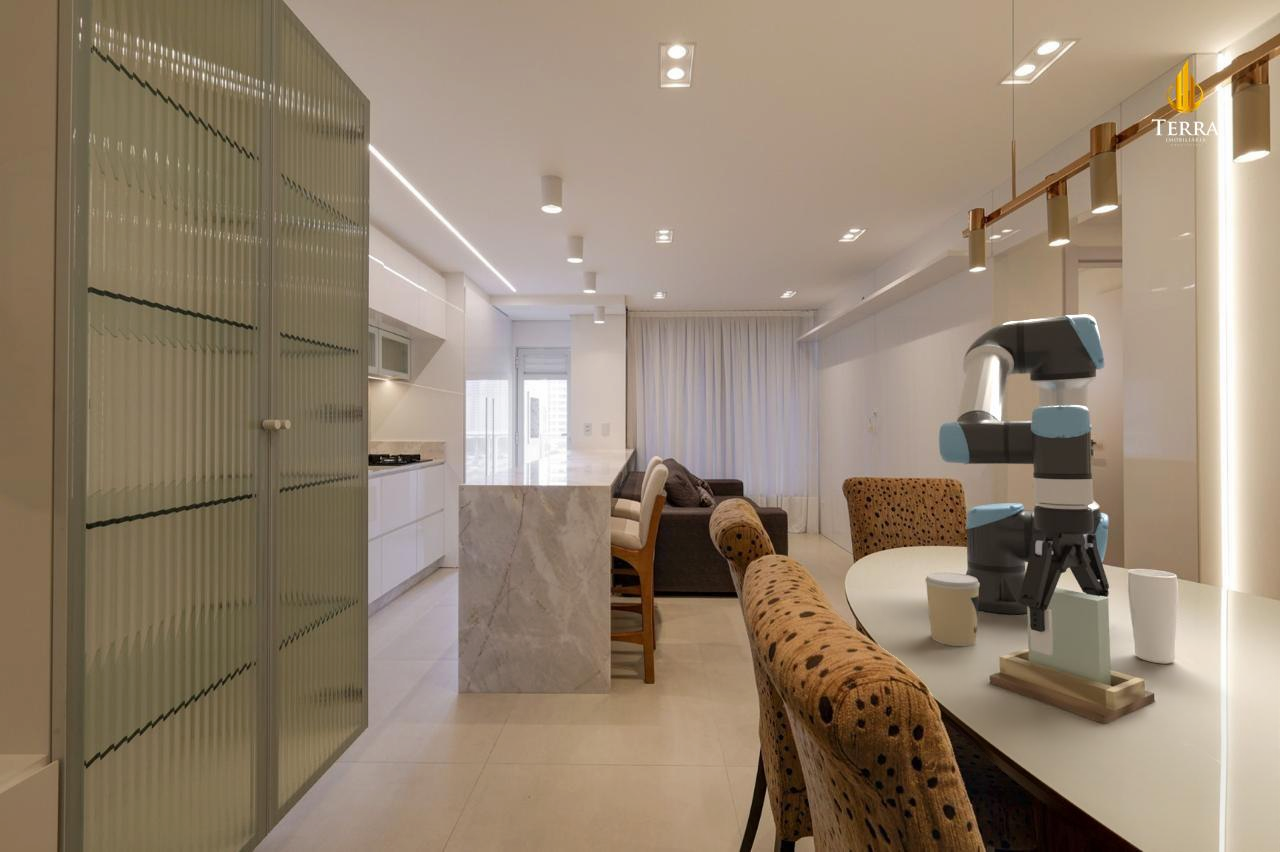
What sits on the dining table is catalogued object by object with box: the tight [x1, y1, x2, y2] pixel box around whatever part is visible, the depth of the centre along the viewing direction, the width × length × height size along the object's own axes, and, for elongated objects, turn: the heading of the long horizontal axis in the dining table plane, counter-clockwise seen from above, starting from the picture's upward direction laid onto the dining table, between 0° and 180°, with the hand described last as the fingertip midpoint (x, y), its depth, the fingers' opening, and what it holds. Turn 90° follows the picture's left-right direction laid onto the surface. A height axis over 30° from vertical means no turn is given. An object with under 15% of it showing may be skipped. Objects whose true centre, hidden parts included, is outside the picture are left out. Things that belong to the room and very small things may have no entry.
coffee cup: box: [925, 572, 980, 647], centre depth 118 cm, size 9×9×12 cm
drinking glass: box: [1126, 568, 1179, 665], centre depth 106 cm, size 7×7×15 cm
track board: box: [989, 647, 1155, 725], centre depth 93 cm, size 14×16×4 cm
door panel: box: [1026, 587, 1112, 686], centre depth 93 cm, size 3×10×14 cm, turn 28°
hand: (1067, 644), depth 93 cm, fingers open, 13 cm apart
